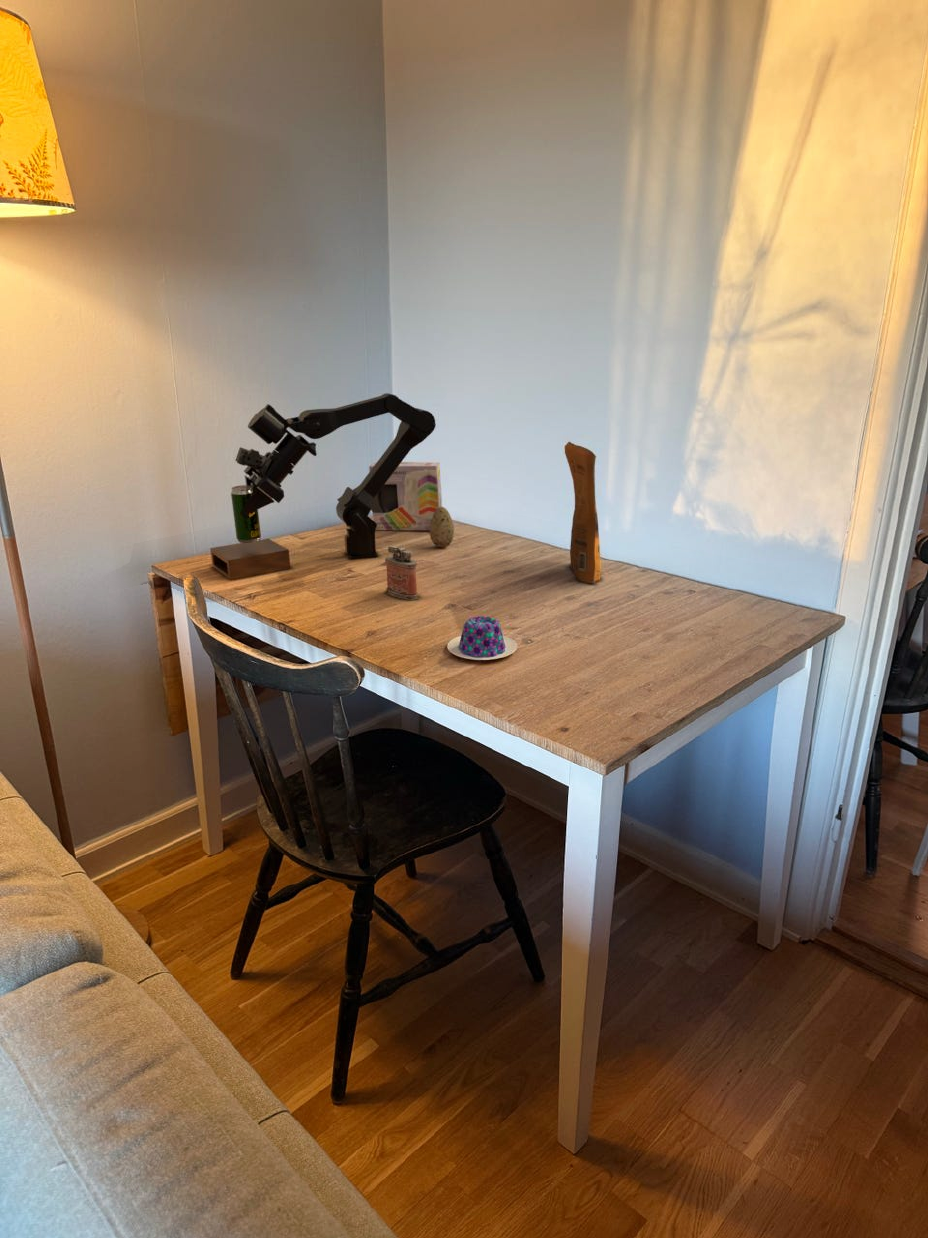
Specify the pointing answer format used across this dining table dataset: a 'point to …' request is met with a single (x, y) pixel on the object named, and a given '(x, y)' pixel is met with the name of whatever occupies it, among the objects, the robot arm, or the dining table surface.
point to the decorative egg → (441, 528)
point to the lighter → (401, 574)
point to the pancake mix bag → (584, 515)
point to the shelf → (250, 559)
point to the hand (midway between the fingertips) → (239, 512)
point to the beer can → (247, 524)
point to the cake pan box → (408, 497)
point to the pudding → (482, 640)
